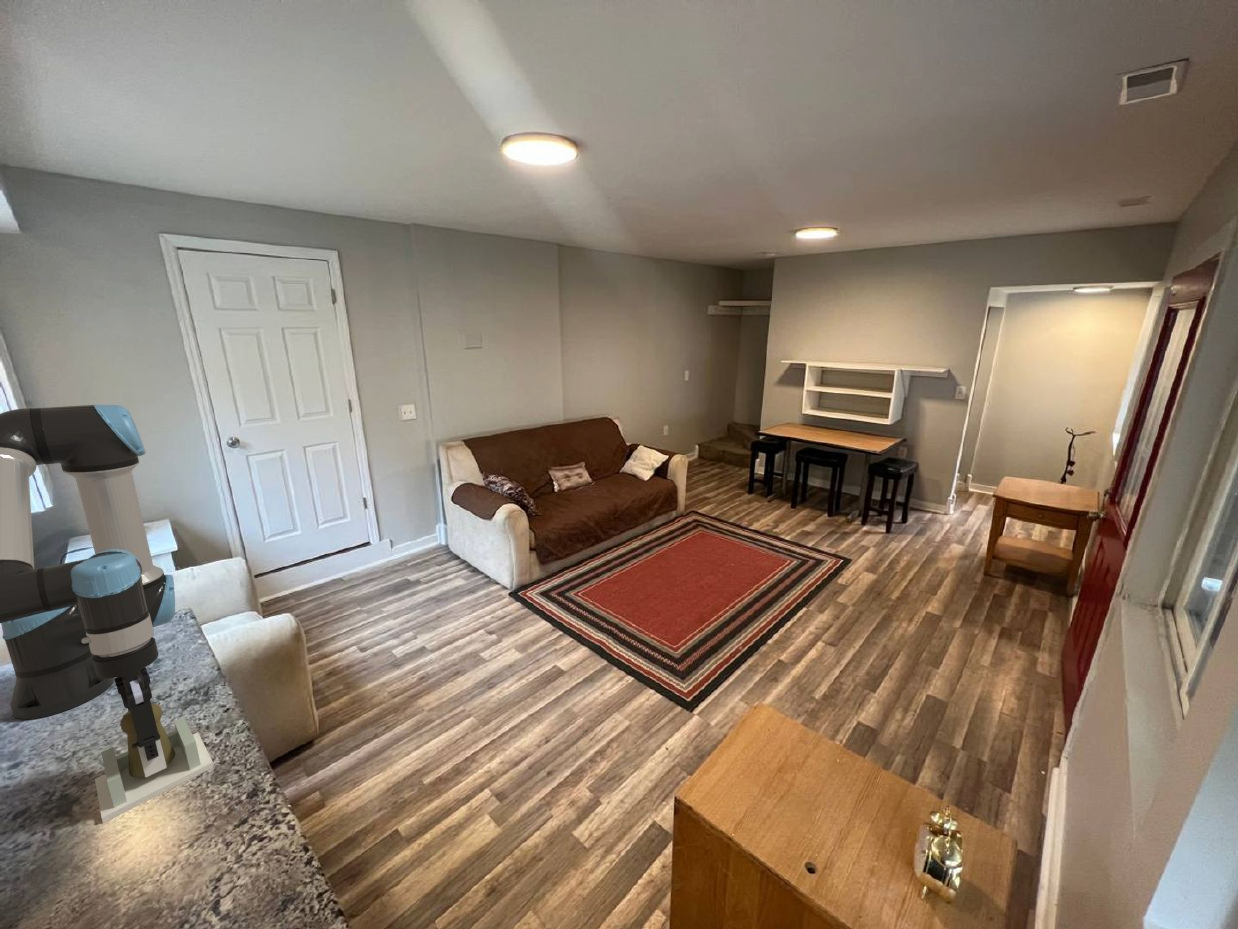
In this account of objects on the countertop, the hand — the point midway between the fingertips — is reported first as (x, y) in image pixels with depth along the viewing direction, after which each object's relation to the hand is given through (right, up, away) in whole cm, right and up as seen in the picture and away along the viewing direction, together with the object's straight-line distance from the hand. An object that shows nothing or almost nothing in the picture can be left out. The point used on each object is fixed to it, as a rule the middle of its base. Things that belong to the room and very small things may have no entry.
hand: (152, 761), depth 85 cm
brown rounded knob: (0, 0, 0) cm, 0 cm away
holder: (0, -3, 0) cm, 3 cm away
